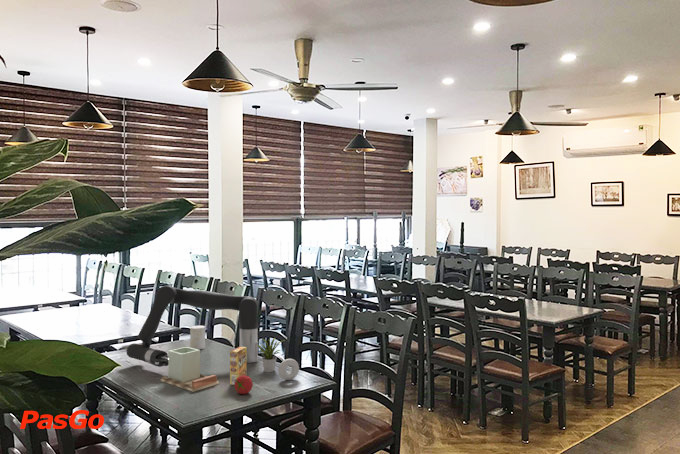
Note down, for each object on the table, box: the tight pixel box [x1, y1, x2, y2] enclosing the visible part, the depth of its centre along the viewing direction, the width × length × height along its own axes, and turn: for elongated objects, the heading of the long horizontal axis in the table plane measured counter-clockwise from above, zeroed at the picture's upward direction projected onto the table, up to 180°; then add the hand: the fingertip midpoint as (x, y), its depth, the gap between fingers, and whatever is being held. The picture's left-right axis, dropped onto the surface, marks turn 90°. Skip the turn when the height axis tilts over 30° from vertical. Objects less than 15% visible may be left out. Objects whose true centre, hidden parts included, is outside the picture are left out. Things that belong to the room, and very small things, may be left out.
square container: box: [167, 346, 201, 382], centre depth 250 cm, size 10×10×13 cm
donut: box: [277, 358, 300, 381], centre depth 252 cm, size 10×4×10 cm, turn 116°
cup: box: [189, 325, 206, 350], centre depth 310 cm, size 8×8×12 cm
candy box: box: [229, 346, 248, 386], centre depth 248 cm, size 9×4×15 cm, turn 162°
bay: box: [160, 373, 220, 393], centre depth 247 cm, size 24×14×4 cm, turn 52°
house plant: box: [257, 337, 286, 373], centre depth 268 cm, size 14×14×16 cm
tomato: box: [234, 375, 254, 395], centre depth 232 cm, size 8×8×8 cm
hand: (177, 363), depth 253 cm, fingers closed
